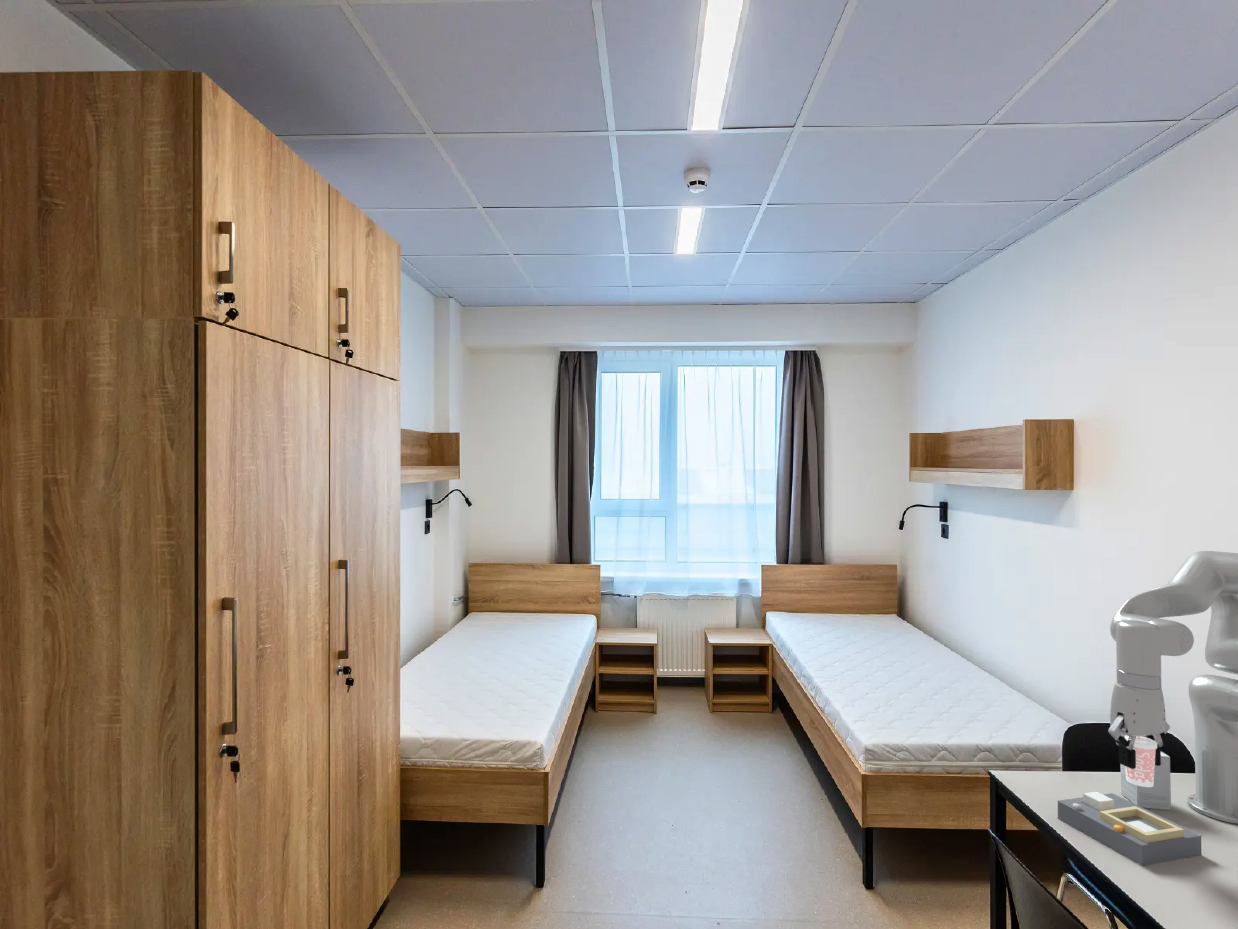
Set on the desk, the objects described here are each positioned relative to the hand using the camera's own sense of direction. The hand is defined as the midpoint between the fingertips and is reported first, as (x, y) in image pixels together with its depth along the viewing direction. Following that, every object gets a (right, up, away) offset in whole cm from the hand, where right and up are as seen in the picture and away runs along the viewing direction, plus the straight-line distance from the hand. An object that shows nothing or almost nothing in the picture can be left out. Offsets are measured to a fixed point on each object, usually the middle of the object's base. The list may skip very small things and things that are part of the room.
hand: (1139, 764), depth 139 cm
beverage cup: (0, -4, 0) cm, 4 cm away
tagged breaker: (0, -17, 0) cm, 17 cm away
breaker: (-2, -16, +9) cm, 18 cm away
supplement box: (+17, -18, +19) cm, 31 cm away
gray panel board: (0, -17, +5) cm, 18 cm away
